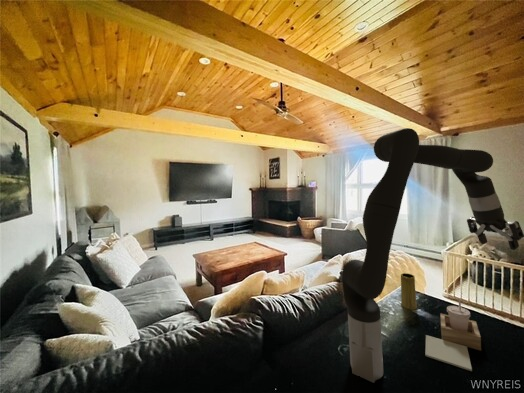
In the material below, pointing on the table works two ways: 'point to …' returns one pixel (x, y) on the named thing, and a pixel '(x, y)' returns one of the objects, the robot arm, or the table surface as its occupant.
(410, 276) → the vase
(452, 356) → the mat
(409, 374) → the table surface
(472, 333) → the sleeve
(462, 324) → the smoothie
